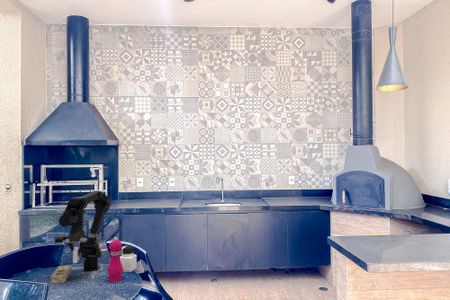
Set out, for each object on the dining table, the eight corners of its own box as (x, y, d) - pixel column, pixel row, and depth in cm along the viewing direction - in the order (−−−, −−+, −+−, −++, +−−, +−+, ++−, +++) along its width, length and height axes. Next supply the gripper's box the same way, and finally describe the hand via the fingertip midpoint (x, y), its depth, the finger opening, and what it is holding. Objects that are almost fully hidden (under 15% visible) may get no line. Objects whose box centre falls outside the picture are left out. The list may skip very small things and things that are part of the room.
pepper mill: (118, 282, 159) (118, 239, 159) (104, 281, 160) (104, 238, 161) (125, 277, 166) (126, 236, 167) (112, 277, 167) (112, 235, 168)
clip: (79, 259, 170) (79, 246, 170) (77, 263, 163) (77, 250, 163) (75, 259, 169) (75, 247, 170) (72, 263, 162) (72, 250, 163)
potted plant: (136, 268, 182) (136, 245, 182) (130, 272, 175) (131, 248, 175) (123, 267, 183) (124, 244, 183) (117, 271, 176) (118, 247, 176)
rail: (71, 271, 176) (71, 265, 176) (64, 282, 159) (64, 275, 159) (58, 272, 174) (58, 266, 174) (50, 283, 158) (50, 276, 158)
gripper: (52, 227, 157) (51, 261, 156) (95, 225, 162) (94, 259, 161) (57, 223, 168) (56, 255, 167) (98, 221, 172) (97, 253, 172)
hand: (76, 255), depth 166 cm, fingers closed on clip, 2 cm apart
